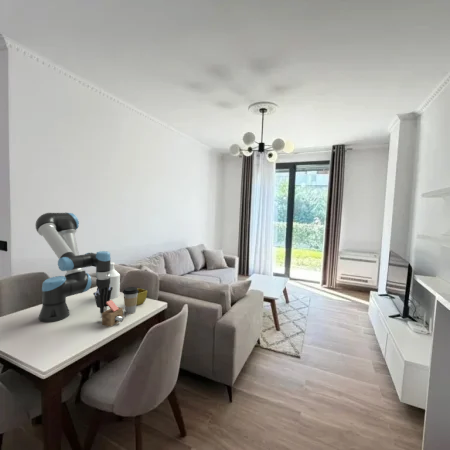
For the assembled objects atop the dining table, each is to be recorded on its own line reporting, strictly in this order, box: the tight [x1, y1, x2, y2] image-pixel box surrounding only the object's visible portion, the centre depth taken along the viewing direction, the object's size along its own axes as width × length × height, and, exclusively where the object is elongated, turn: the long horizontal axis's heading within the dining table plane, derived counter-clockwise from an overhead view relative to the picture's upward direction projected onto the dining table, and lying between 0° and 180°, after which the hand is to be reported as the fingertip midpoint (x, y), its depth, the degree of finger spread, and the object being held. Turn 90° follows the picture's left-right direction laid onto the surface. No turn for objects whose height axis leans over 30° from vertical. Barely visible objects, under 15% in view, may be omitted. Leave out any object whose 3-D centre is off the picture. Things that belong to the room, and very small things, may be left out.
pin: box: [115, 316, 124, 323], centre depth 149 cm, size 11×4×4 cm, turn 74°
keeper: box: [106, 299, 119, 312], centre depth 148 cm, size 7×4×1 cm
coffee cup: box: [122, 286, 139, 315], centre depth 164 cm, size 9×9×15 cm
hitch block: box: [101, 306, 124, 327], centre depth 149 cm, size 6×10×7 cm, turn 164°
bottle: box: [110, 262, 121, 300], centre depth 190 cm, size 12×12×25 cm
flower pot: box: [136, 288, 148, 306], centre depth 178 cm, size 9×9×9 cm
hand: (103, 317), depth 151 cm, fingers closed
